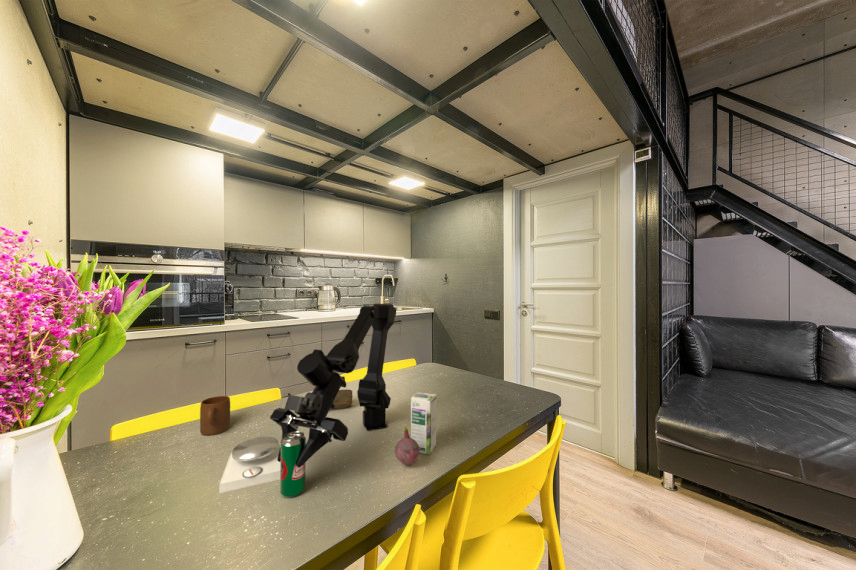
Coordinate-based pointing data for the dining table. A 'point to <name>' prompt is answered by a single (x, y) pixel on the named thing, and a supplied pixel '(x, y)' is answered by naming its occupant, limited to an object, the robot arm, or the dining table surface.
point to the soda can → (292, 464)
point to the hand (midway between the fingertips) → (288, 464)
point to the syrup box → (424, 421)
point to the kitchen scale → (250, 472)
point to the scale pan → (255, 449)
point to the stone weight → (343, 399)
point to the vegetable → (407, 449)
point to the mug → (214, 415)
